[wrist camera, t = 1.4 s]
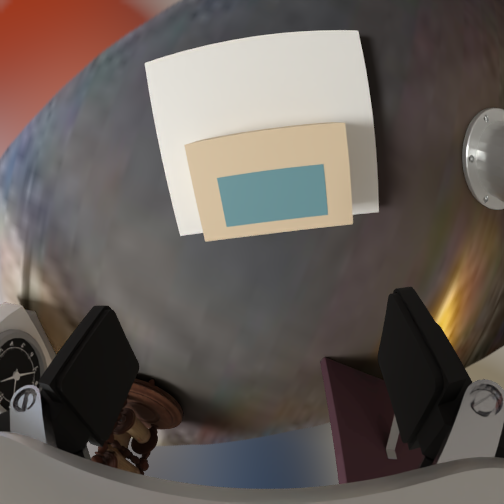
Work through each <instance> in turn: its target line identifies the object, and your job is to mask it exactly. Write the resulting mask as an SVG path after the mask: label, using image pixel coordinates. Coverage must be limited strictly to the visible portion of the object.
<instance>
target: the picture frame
mask: <svg viewBox="0 0 504 504" xmlns="http://www.w3.org/2000/svg"><path fill="white" fill-rule="evenodd" d="M320 364H321V369H322V375H323V380H324V386H325V392H326V398H327V404H328V410H329V416H330V423H331V429H332V436H333V442H334V449H335V456H336V464H337V471H338V480H339V484H345V483H352V482H358V481H364V480H370V479H376V478H381V477H385V476H390V475H395V474H399V473H403V472H407V471H411V470H415V469H417V467H418V465H419V463H420V462H421V460H422V458H423V456H424V455H423V454H422V452H421V448H416V449H413V450H409V448H408V444H407V443H403V442H402V440H401V436H400V432H399V429H398V425H397V422H396V418H395V414H394V411H393V408H392V404H391V401H390V397H389V394H388V391H387V388H386V384H385V381H384V380H382V379H380V378H377V377H374V376H372V375H369V374H366V373H364V372H361V371H359V370H356V369H354V368H351V367H349V366H346V365H344V364H341V363H339V362H336V361H334V360H331V359H329V358H327V357H324V358H323V359H322V360H321V361H320Z"/></svg>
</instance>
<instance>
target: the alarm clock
mask: <svg viewBox="0 0 504 504" xmlns="http://www.w3.org/2000/svg"><path fill="white" fill-rule="evenodd" d="M55 356H56V354H55V352H54V350H53V348H52V346H51V344H50V342H49V340H48V338H47V336H46V334H45V332H44V330H43V328H42V325H41V323H40V321H39V319H38V317H37V314H36V312H35V311H31V310H26V309H24V307H23V306H21V305H16V304H11V303H7V302H4V303H3V304H1V305H0V414H1V413H3V412H5V411H8V410H10V401H11V399H12V396H13V395H14V394H15V392H16V391H17V390H19V389H20V388H21V387H23V386H26V385H34V386H36V387H37V388H38V389H39V390H40V391H41V390H42V387H41V386H40V384H39V383H38V381H39V379H40V378H41V376H42V375H43V373H44V372H45V370H46V369H47V368H48V366H49V365H50V363H51V362H52V360H53V359H54V358H55Z"/></svg>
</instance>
